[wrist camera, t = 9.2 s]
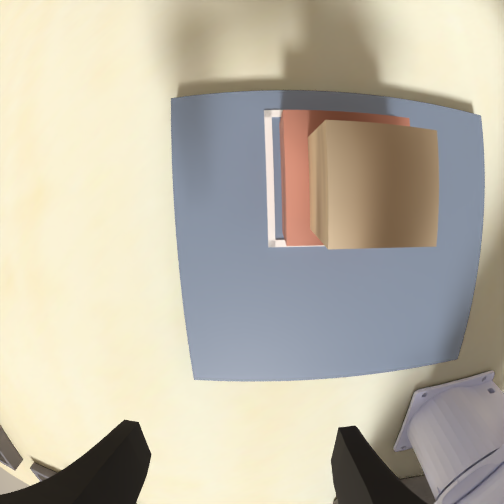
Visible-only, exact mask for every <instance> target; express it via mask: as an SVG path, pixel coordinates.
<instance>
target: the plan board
mask: <svg viewBox="0 0 504 504" xmlns="http://www.w3.org/2000/svg"><path fill="white" fill-rule="evenodd" d="M283 110H324V111H344V112H358V113H370V114H380V115H389V116H397V117H405V118H409V120H410V127H417V128H425V129H431V130H437V137H438V156H439V213H438V232H437V245H436V247H403V248H365V249H327V248H326V246H325V245H318V246H286V242H285V239H284V236H283V233H282V189H281V155H280V129H279V123H280V119H281V115H282V111H283ZM171 139H172V171H173V192H174V209H175V224H176V237H177V249H178V260H179V270H180V280H181V289H182V298H183V307H184V315H185V322H186V330H187V337H188V344H189V351H190V358H191V364H192V370H193V376H194V380H212V381H293V380H312V379H327V378H339V377H350V376H359V375H368V374H376V373H384V372H391V371H397V370H404V369H410V368H416V367H421V366H427V365H432V364H437V363H442V362H447V361H451V360H456V359H458V355H459V352H460V349H461V345H462V342H463V338H464V334H465V330H466V326H467V322H468V318H469V314H470V309H471V305H472V300H473V295H474V290H475V284H476V278H477V272H478V265H479V258H480V250H481V241H482V230H483V216H484V189H485V172H484V145H483V132H482V121H481V116H480V115H476V114H473V113H469V112H465V111H461V110H457V109H452V108H448V107H443V106H439V105H434V104H429V103H423V102H418V101H412V100H406V99H399V98H392V97H385V96H376V95H367V94H357V93H345V92H330V91H304V90H267V91H241V92H226V93H213V94H203V95H194V96H185V97H178V98H171Z"/></svg>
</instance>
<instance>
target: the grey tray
mask: <svg viewBox="0 0 504 504" xmlns="http://www.w3.org/2000/svg"><path fill="white" fill-rule="evenodd" d="M22 460H23V459H22V457H21V456H20V454H19V453H18V452H17V450H16V449H15V447H14V446H13V444H12V443H11V441H10V440H9V438H8V437H7V435H6V434H5V432H4V430H3V429H2V427H1V426H0V462H1V463H3V464H5V465H6V466H8V467H10V468H12V469H13V470H16V469H17V467H18V466H19V464H20V463H21V462H22Z"/></svg>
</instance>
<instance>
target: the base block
mask: <svg viewBox="0 0 504 504" xmlns="http://www.w3.org/2000/svg"><path fill="white" fill-rule="evenodd" d="M325 120H340V121H358V122H371V123H383V124H393V125H402V126H410V120H409V118H405V117H397V116H389V115H380V114H370V113H358V112H344V111H324V110H283V111H282V115H281V119H280V123H279V129H280V155H281V189H282V233H283V236H284V239H285V242H286V246H318V245H324V244H323V243H322V242H321V241H320V240H319V238H318V237H317V236H316V235H315V234H314V233H313V232H312V231H311V229H310V191H309V157H308V136H309V135H310V134H312V133H313V132H314V131H315V130H316V129H317V128H318V127H319V126H320V125H321V124H322V123H323V122H324V121H325Z"/></svg>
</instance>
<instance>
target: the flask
mask: <svg viewBox="0 0 504 504" xmlns="http://www.w3.org/2000/svg"><path fill="white" fill-rule="evenodd" d="M401 481H402V482H403V483H404V484H405V485H406V486H407V487H408V488H409V489H410V490H411V491H412V492H414V493H415V494H416V495H417V496H418V497H420V498H421V499H422V500H424V501H425V502H426V503H428V504H434V503H435V502H436V500H435V498H434V495H433V493H432V491H431V488H430V486H429V483H428V481H427V479H426V477H425V475H424V476H417V477H411V478H406V479H401ZM333 504H338V500H337V499H336V500H335V501H334V502H333Z"/></svg>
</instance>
